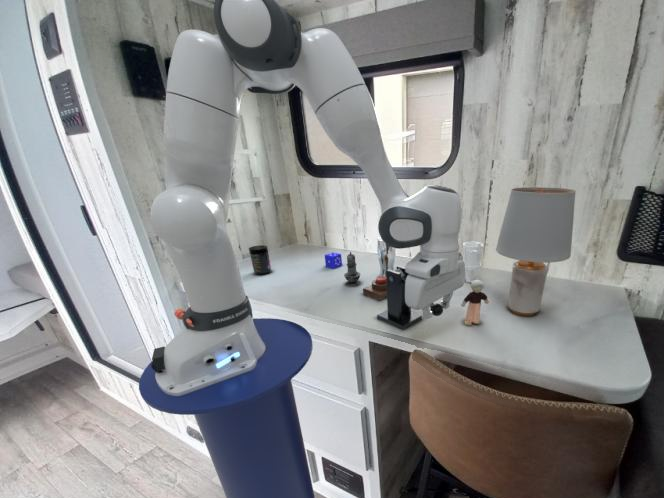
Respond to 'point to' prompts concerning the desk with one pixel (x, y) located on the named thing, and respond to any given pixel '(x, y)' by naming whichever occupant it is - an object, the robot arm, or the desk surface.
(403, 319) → the bracket
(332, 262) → the die
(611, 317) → the desk surface
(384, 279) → the button
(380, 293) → the control block
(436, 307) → the lever
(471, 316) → the grandmother figurine
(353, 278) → the grey tall figure
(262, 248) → the supplement container
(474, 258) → the clear tall cylinder
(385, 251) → the beer glass
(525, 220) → the lamp
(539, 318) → the desk surface
